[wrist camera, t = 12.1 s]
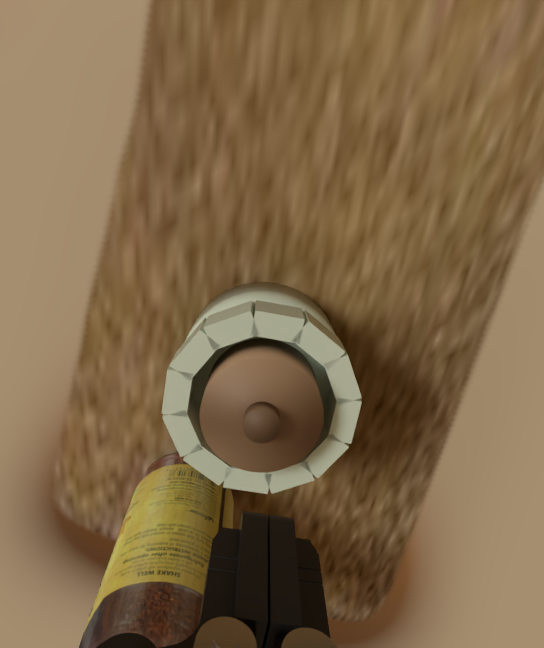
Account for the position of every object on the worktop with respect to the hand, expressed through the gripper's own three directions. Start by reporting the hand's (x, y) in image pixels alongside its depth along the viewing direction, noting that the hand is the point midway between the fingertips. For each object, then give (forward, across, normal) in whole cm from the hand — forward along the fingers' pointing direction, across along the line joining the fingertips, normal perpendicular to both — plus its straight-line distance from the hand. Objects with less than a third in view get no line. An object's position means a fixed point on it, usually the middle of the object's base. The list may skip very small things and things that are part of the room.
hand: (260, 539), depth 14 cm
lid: (+11, 0, 0) cm, 11 cm away
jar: (+16, 0, 0) cm, 16 cm away
